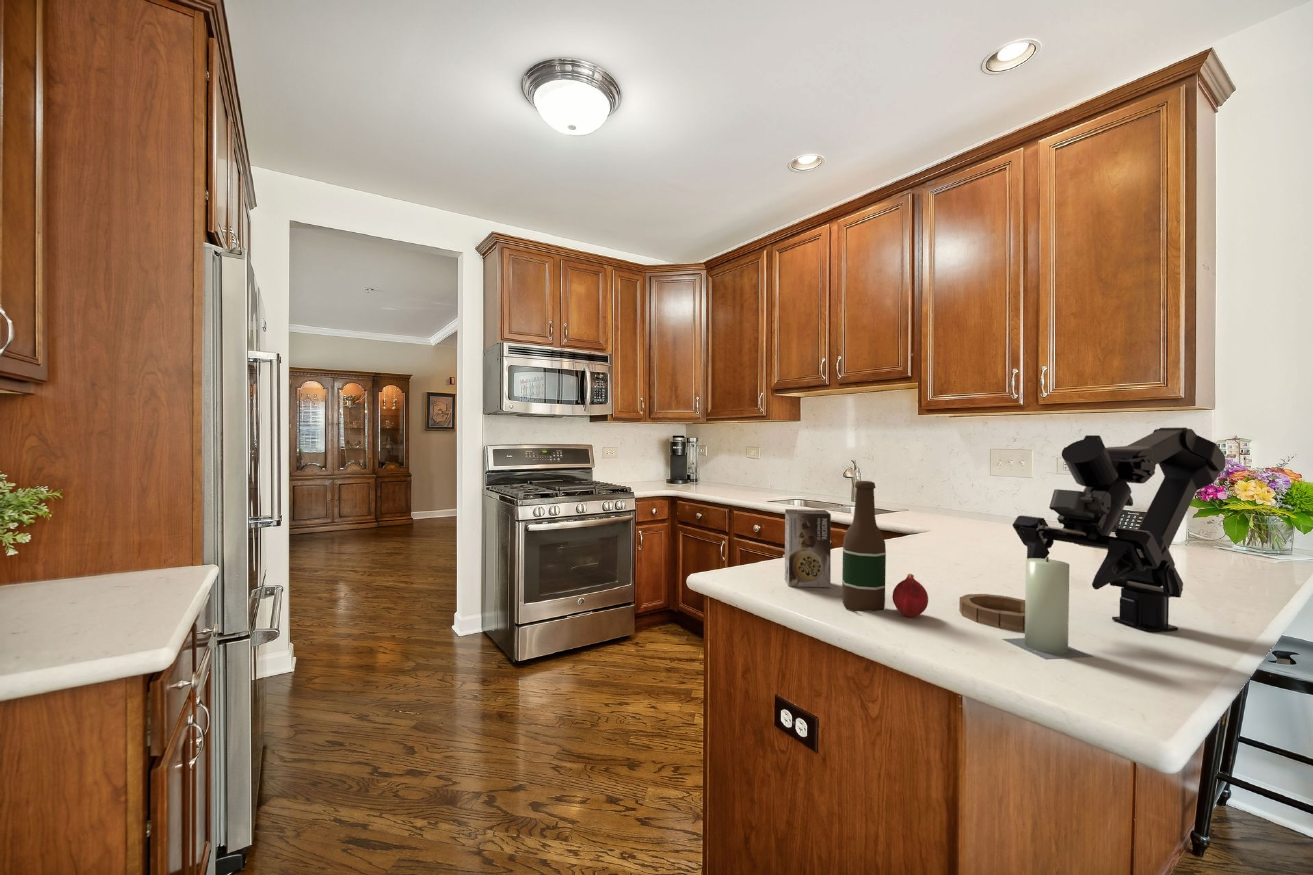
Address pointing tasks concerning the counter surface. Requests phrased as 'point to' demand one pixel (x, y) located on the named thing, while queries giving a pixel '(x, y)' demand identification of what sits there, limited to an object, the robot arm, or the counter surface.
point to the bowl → (994, 610)
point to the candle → (1047, 605)
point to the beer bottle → (864, 556)
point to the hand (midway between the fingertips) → (1059, 580)
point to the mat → (1071, 653)
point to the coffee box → (807, 548)
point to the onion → (910, 597)
